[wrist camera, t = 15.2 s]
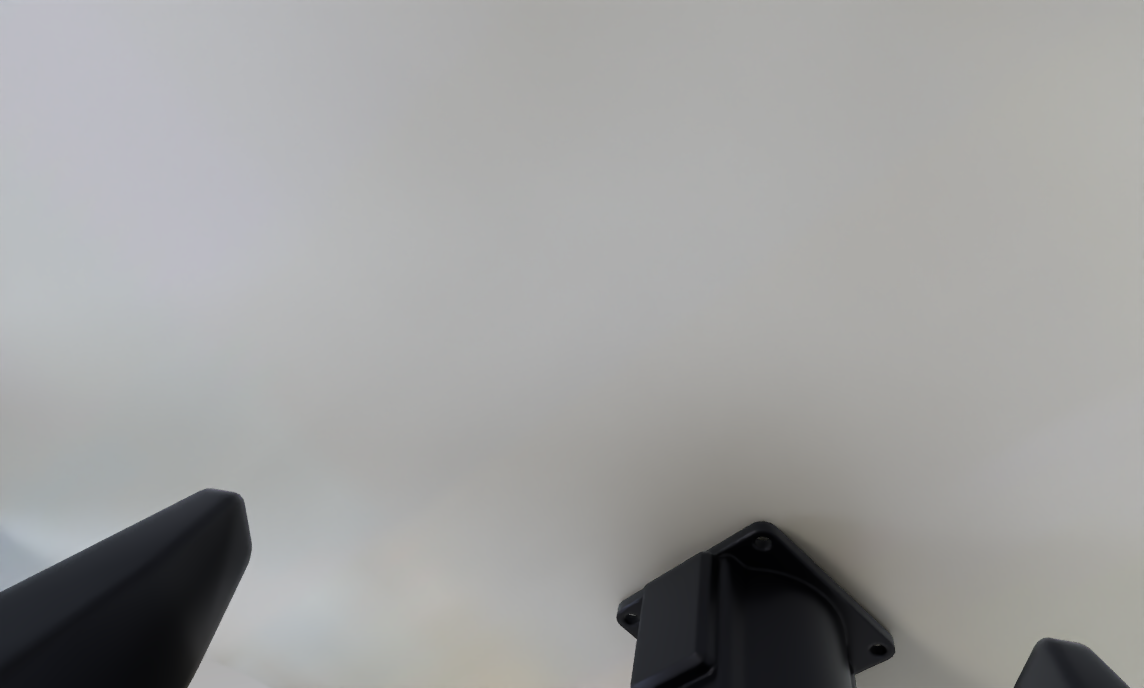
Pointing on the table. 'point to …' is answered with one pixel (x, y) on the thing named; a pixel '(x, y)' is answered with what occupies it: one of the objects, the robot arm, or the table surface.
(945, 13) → the table surface
